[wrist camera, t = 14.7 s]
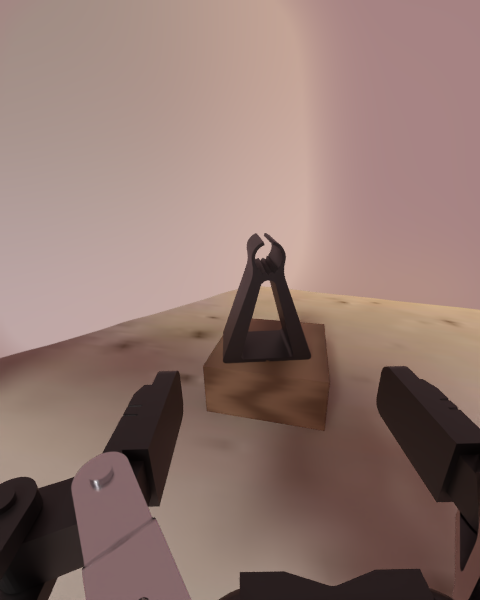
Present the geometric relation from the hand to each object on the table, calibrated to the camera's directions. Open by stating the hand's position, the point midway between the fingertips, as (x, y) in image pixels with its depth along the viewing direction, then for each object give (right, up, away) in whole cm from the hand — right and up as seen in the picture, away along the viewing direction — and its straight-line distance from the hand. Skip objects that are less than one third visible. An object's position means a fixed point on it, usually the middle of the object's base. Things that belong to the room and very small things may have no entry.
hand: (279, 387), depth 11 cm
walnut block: (+2, -7, +22) cm, 23 cm away
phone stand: (+1, -2, +19) cm, 20 cm away
